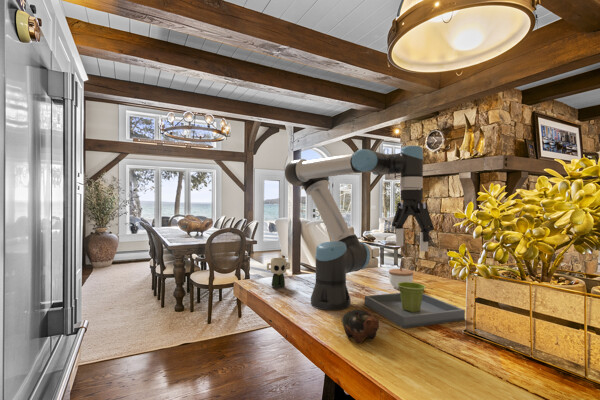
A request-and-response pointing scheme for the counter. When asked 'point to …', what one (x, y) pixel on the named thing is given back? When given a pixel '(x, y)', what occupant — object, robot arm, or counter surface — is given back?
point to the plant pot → (411, 295)
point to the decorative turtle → (360, 325)
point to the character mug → (278, 271)
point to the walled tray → (428, 314)
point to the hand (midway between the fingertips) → (411, 248)
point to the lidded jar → (400, 276)
